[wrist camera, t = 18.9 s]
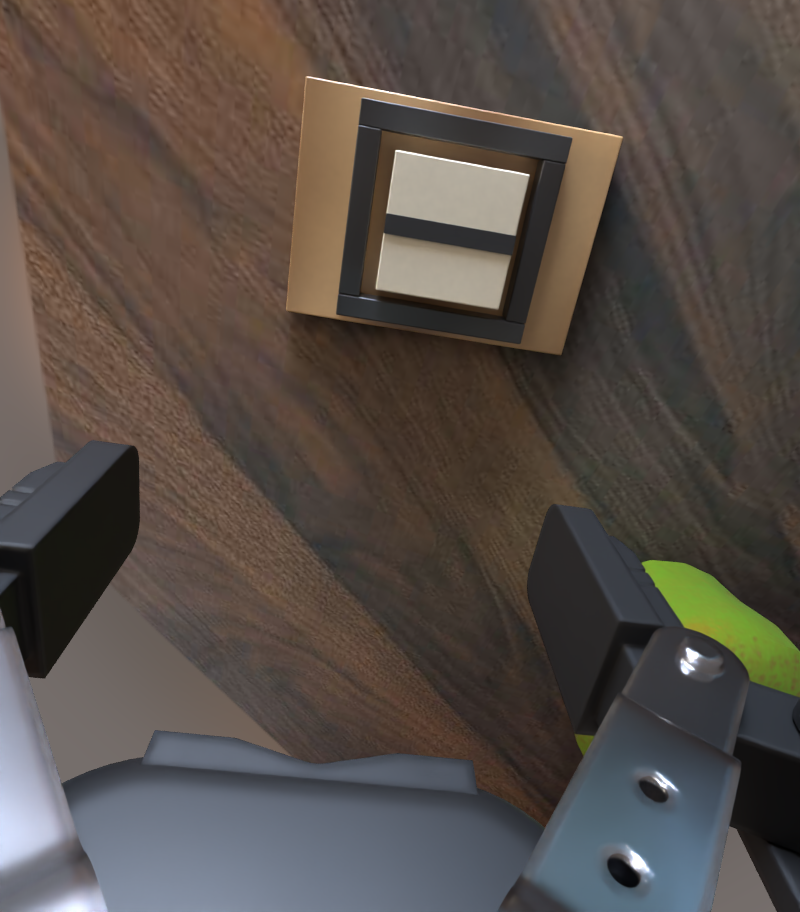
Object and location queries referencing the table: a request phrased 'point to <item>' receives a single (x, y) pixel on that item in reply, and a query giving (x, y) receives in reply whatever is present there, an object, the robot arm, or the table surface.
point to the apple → (725, 627)
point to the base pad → (454, 138)
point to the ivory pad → (449, 229)
